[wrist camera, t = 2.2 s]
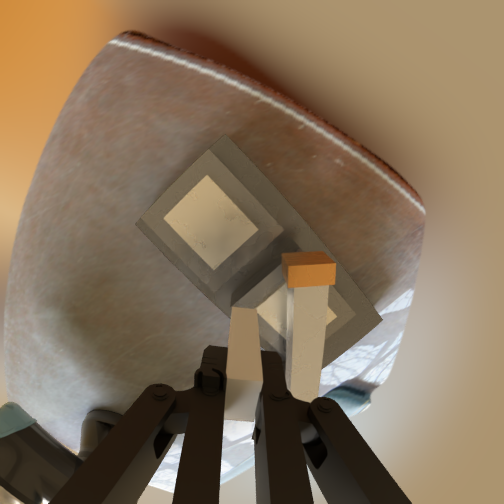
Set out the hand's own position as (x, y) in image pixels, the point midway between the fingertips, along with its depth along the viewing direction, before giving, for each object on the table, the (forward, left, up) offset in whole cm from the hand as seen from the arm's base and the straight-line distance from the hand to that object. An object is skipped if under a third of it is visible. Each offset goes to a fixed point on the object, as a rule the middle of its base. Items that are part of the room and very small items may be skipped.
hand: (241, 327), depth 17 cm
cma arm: (0, -7, -5) cm, 9 cm away
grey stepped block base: (+2, -2, -13) cm, 14 cm away
